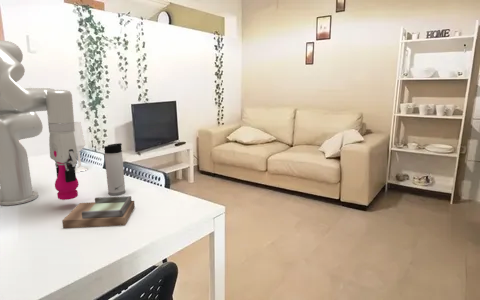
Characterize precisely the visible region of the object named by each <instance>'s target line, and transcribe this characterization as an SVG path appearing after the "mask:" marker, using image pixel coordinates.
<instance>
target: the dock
mask: <svg viewBox="0 0 480 300" xmlns="http://www.w3.org/2000/svg"><path fill="white" fill-rule="evenodd" d="M132 199H133V198H132V196H131V195H130V196H129V195H126V196H103V197H100V196H98V197H95V198H94V202H80V203H78V204H77V205H76V206H75V207H74V208H73V209H72V210H71V211H70V212H69V213H68V214H67V215H66V216H65V217H64V218H63V219H62V220H61V221H62V223H61V224H62V228H63V229H72V228H73V229H74V228H78V229H79V228H92V227H93V228H95V227H97V228H98V227H111V226H112V227H113V226H126V224H127V222H128V221H129V219H130V217H131V216H132V213H133V211H134V210H135V200H132Z"/></svg>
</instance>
